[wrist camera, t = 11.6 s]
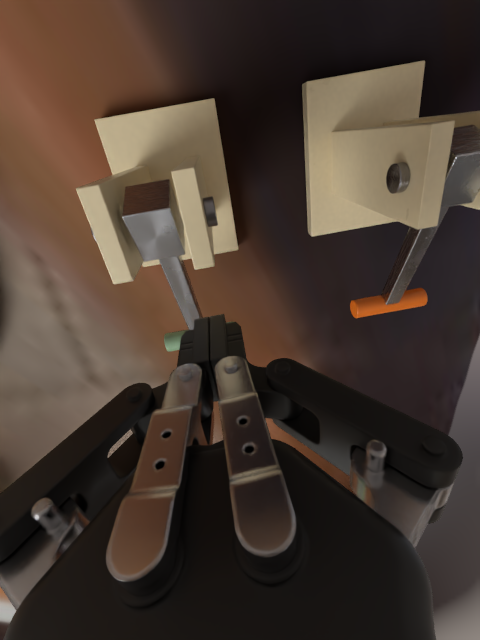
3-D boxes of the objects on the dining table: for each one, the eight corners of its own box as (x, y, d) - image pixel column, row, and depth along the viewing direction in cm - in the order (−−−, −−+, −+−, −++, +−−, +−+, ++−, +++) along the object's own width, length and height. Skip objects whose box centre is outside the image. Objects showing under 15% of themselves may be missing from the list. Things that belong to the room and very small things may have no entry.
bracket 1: (237, 246, 28) (258, 318, 17) (145, 262, 28) (103, 346, 17) (214, 99, 23) (221, 57, 11) (99, 120, 23) (-13, 99, 11)
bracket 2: (399, 216, 28) (531, 268, 17) (307, 233, 28) (377, 296, 17) (415, 63, 23) (631, -17, 11) (301, 84, 23) (399, 25, 11)
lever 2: (411, 291, 26) (425, 314, 24) (346, 303, 26) (357, 326, 24) (507, 117, 15) (542, 140, 14) (395, 137, 15) (419, 162, 14)
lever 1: (234, 323, 26) (238, 347, 24) (169, 334, 26) (169, 360, 24) (203, 172, 15) (207, 201, 14) (91, 192, 15) (84, 223, 14)
